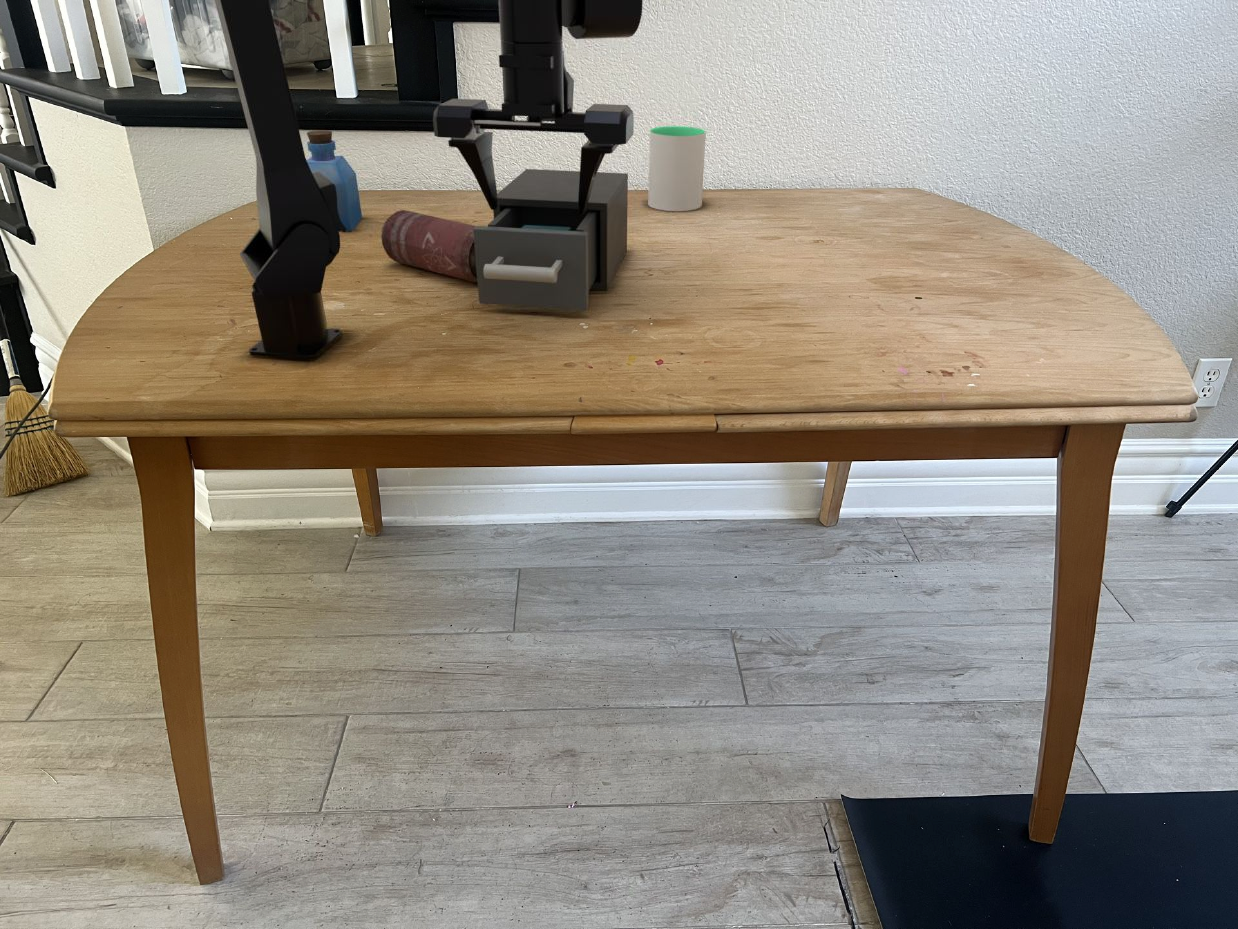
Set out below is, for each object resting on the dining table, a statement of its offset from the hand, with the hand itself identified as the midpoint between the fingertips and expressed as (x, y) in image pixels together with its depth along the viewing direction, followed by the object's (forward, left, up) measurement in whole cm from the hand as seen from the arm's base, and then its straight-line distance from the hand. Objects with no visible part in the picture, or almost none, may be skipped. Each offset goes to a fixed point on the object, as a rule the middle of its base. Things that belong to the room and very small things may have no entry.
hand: (537, 211), depth 87 cm
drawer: (0, 0, -9) cm, 9 cm away
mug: (+46, -9, -10) cm, 48 cm away
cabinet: (+12, 0, -10) cm, 16 cm away
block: (+1, 0, -8) cm, 8 cm away
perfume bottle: (+24, +35, -10) cm, 44 cm away
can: (+11, +20, -7) cm, 24 cm away
